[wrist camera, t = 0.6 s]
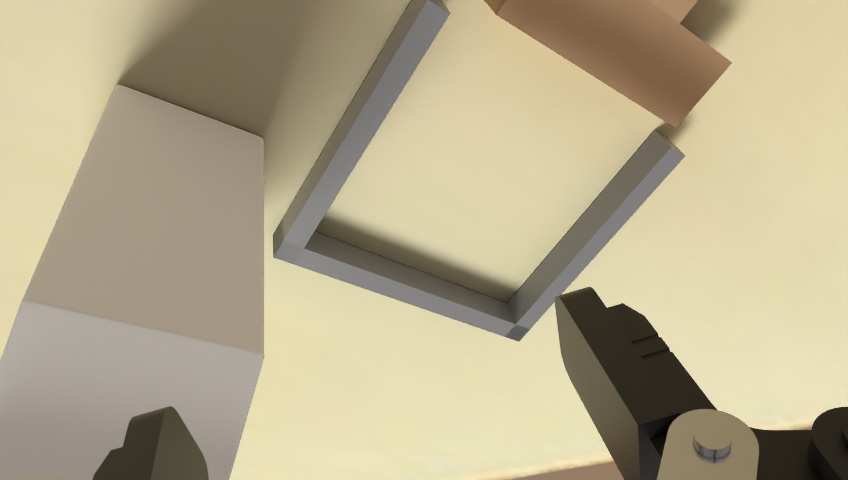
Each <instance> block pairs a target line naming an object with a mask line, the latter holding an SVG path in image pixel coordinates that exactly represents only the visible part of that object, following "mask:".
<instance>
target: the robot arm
mask: <svg viewBox="0 0 848 480" xmlns="http://www.w3.org/2000/svg"><path fill="white" fill-rule="evenodd" d="M555 308H556V316H557V324H558V332H559V340H560V348H561V354H562V358H563V362H564V365H565V368H566V371H567V373H568V375H569V378H570V380H571V382H572V383H573V385H574V387H575V389H576V391H577V393H578V395H579V396H580V398H581V400H582V402H583V404H584V406H585V408H586V409H587V411H588V413H589V415H590V417H591V419H592V421H593V422H594V424H595V426H596V428H597V430H598V432H599V434H600V435H601V437H602V439H603V441H604V443H605V445H606V447H607V448H608V450H609V452H610V454H611V456H612V458H613V459H614V461H615V463H616V465H617V467H618V469H619V471H620V472H621V474H622V476H623V478H624V480H848V407H839V408H834V409H831V410H828V411H826V412H824V413H822V414H821V415H820V416H818V417H817V418H816V420H815V421H814V423H813V426H812V430H761V429H754V428H751V427H748V426H747V425H746V424H745V423H744V422H743V421H741V420H740V419H738V418H736V417H735V416H733V415H731V414H728V413H725V412H722V411H718V410H717V409H716V408H715V407H714V406H713V405H712V403H711V402H710V401H709V399H708V398H707V397H706V396H705V394H704V393H703V392H702V390H701V389H700V388H699V386H698V385H697V384H696V383H695V381H694V380H693V379H692V377H691V376H690V375H689V373H688V372H687V371H686V370H685V368H684V367H683V366H682V364H681V363H680V362H679V360H678V359H677V358H676V356H675V355H674V354H673V353H672V352H670V350H669V347H668V346H667V345H666V343H665V342H664V341H663V340H662V338H661V337H660V338H659V336H658V333H657V332H656V330H655V329H654V328H653V327H652V325H651V324H650V323H649V321H648V320H647V319H646V317H645V316H643V315H642V314H640V313H638V312H637V311H635V310H633V309H632V308H630V307H628V306H626V305H625V304H623V303H622V304H619V305H616V306H612V307H609V308H606V306H605V305H604V303H603V302H602V300H601V299H600V298H599V296H598V295H597V293H596V292H595V291H594V289H593V288H591V287H587V288H583V289H580V290H576V291H573V292H569V293H566V294H563V295H559V296H556V297H555ZM93 480H209V476H208V469H207V464H206V461H205V458H204V456H203V454H202V452H201V450H200V448H199V447H198V445H197V443H196V442H195V440H194V438H193V437H192V435H191V433H190V432H189V430H188V428H187V427H186V425H185V423H184V422H183V420H182V418H181V417H180V415H179V414H178V412H177V411H176V409H175V408H173V407H171V406H169V407H165V408H162V409H158V410H155V411H151V412H148V413H144V414H141V415H137V416H134V417H132V418H131V420H130V421H129V424H128V428H127V432H126V435H125V439H124V443H123V447H120V448H117V449H113V450H111V451H110V452H109V454H108V455H107V456H106V458H105V459H104V461H103V462H102V464H101V465H100V467H99V468H98V470H97V471H96V472H95V474H94V476H93Z"/></svg>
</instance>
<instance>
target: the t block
mask: <svg viewBox="0 0 848 480" xmlns="http://www.w3.org/2000/svg"><path fill="white" fill-rule="evenodd" d="M484 1H485V2H486V3H487V4H488V5H489V7H490V8H491V9H492V10H493V11H494V13H495V14H496V15H497V16H499V17H500V18H502V19H504V20H505V21H507V22H508V23H510V24H512V25H513V26H515V27H516V28H518V29H520V30H521V31H523V32H524V33H526V34H527V35H529V36H531V37H532V38H534V39H535V40H537V41H539V42H540V43H542V44H543V45H545V46H547V47H548V48H550V49H551V50H553V51H554V52H556V53H558V54H559V55H561V56H562V57H564V58H566V59H567V60H569V61H570V62H572V63H573V64H575V65H577V66H578V67H580V68H581V69H583V70H585V71H586V72H588V73H589V74H591V75H593V76H594V77H596V78H597V79H599V80H600V81H602V82H604V83H605V84H607V85H608V86H610V87H612V88H613V89H615V90H616V91H618V92H619V93H621V94H623V95H624V96H626V97H627V98H629V99H631V100H632V101H634V102H635V103H637V104H639V105H640V106H642V107H643V108H645V109H646V110H648V111H650V112H651V113H653V114H654V115H656V116H658V117H659V118H661V119H662V120H664V121H665V122H667V123H669V124H670V125H672V126H673V127H675V128H676V127H677V126H678V124H679V123H680V122H681V121H682V120H683V119H684V118H685V116H686V115H687V114H688V113H689V112H690V111H691V110H692V108H693V107H694V106H695V105H696V104H697V103H698V101H699V100H700V99H701V98H702V97H703V96H704V95H705V93H706V92H707V91H708V90H709V89H710V88H711V87H712V85H713V84H714V83H715V82H716V81H717V80H718V78H719V77H720V76H721V75H722V74H723V73H724V72H725V70H726V69H727V68H728V67H729V66H730V65H731V64H732V62H731V61H729V60H728V59H727V58H725V57H724V56H722V55H721V54H720V53H718V52H717V51H716V50H714V49H713V48H712V47H710V46H709V45H708V44H706V43H705V42H704V41H702V40H701V39H700V38H698V37H697V36H696V35H694V34H693V33H692V32H690V31H689V30H688V29H686V28H685V27H684V26H682V25H681V24H680V22H681V21H682V20H683V19H684V17H685V16H686V15H687V14H688V12H689V11H690V10H691V9H692V8H693V6H694V5H695V4H696V3H697V1H698V0H484Z"/></svg>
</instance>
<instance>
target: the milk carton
mask: <svg viewBox="0 0 848 480" xmlns="http://www.w3.org/2000/svg"><path fill="white" fill-rule="evenodd" d="M263 359H264V140H263V139H262V138H261V137H259V136H257V135H254V134H252V133H249V132H246V131H244V130H241V129H238V128H236V127H233V126H230V125H228V124H225V123H222V122H220V121H217V120H214V119H211V118H209V117H206V116H203V115H201V114H198V113H195V112H193V111H190V110H187V109H185V108H182V107H179V106H176V105H174V104H171V103H168V102H166V101H163V100H160V99H158V98H155V97H152V96H150V95H147V94H144V93H142V92H139V91H136V90H133V89H131V88H128V87H125V86H122V85H116V86H115V87H114V89H113V91H112V93H111V96H110V98H109V100H108V103H107V105H106V107H105V110H104V112H103V114H102V117H101V119H100V121H99V124H98V126H97V128H96V130H95V133H94V135H93V137H92V140H91V142H90V144H89V147H88V149H87V151H86V154H85V156H84V158H83V161H82V163H81V165H80V168H79V170H78V172H77V175H76V177H75V179H74V181H73V184H72V186H71V188H70V191H69V193H68V195H67V198H66V200H65V202H64V205H63V207H62V209H61V212H60V214H59V216H58V219H57V221H56V223H55V226H54V228H53V230H52V232H51V235H50V237H49V239H48V242H47V244H46V246H45V249H44V251H43V253H42V256H41V258H40V260H39V263H38V265H37V267H36V270H35V272H34V274H33V277H32V279H31V281H30V283H29V286H28V288H27V290H26V293H25V295H24V297H23V300H22V301H21V304H20V307H19V310H18V312H17V315H16V318H15V321H14V324H13V327H12V329H11V332H10V335H9V338H8V341H7V344H6V346H5V349H4V352H3V355H2V358H1V361H0V480H93V476H94V474H95V472H96V471H97V470H98V468H99V467H100V465H101V464H102V462H103V461H104V459H105V458H106V456H107V455H108V454H109V452H110V451H111V450H113V449H117V448H120V447H123V443H124V439H125V435H126V432H127V428H128V424H129V421H130V420H131V418H132V417H134V416H137V415H141V414H144V413H148V412H151V411H155V410H158V409H162V408H165V407H169V406H171V407H173V408H175V409H176V411H177V412H178V414H179V415H180V417H181V418H182V420H183V422H184V423H185V425H186V427H187V428H188V430H189V432H190V433H191V435H192V437H193V438H194V440H195V442H196V443H197V445H198V447H199V448H200V450H201V452H202V454H203V456H204V458H205V461H206V464H207V469H208V476H209V480H229V478H230V474H231V471H232V468H233V464H234V461H235V457H236V454H237V450H238V447H239V443H240V440H241V436H242V433H243V429H244V426H245V422H246V419H247V415H248V412H249V408H250V405H251V401H252V398H253V394H254V391H255V387H256V384H257V380H258V377H259V373H260V370H261V366H262V363H263Z"/></svg>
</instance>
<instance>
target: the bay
mask: <svg viewBox="0 0 848 480" xmlns="http://www.w3.org/2000/svg"><path fill="white" fill-rule="evenodd" d="M449 15H450V12H449V11H448V9H447V8H446V6H445V5H444V3H443V2H442V0H411V2H410V3H409V5H408V7H407V8H406V10H405V12H404V13H403V15H402V17H401V19H400V20H399V22H398V24H397V25H396V27H395V29H394V30H393V32H392V34H391V36H390V37H389V39H388V41H387V42H386V44H385V46H384V47H383V49H382V51H381V53H380V54H379V56H378V58H377V59H376V61H375V63H374V64H373V66H372V68H371V70H370V71H369V73H368V75H367V76H366V78H365V80H364V81H363V83H362V85H361V87H360V88H359V90H358V92H357V93H356V95H355V97H354V98H353V100H352V102H351V104H350V105H349V107H348V109H347V110H346V112H345V114H344V115H343V117H342V119H341V121H340V122H339V124H338V126H337V127H336V129H335V131H334V132H333V134H332V136H331V138H330V139H329V141H328V143H327V144H326V146H325V148H324V149H323V151H322V153H321V155H320V156H319V158H318V160H317V161H316V163H315V165H314V166H313V168H312V170H311V172H310V173H309V175H308V177H307V178H306V180H305V182H304V183H303V185H302V187H301V189H300V190H299V192H298V194H297V195H296V197H295V199H294V200H293V202H292V204H291V206H290V207H289V209H288V211H287V212H286V214H285V216H284V217H283V219H282V221H281V223H280V224H279V226H278V228H277V229H276V231H275V233H274V234H273V257H274V258H277V259H280V260H283V261H286V262H289V263H292V264H294V265H297V266H300V267H303V268H306V269H309V270H312V271H315V272H318V273H321V274H324V275H327V276H329V277H332V278H335V279H338V280H341V281H344V282H347V283H350V284H353V285H356V286H359V287H361V288H364V289H367V290H370V291H373V292H376V293H379V294H382V295H385V296H388V297H391V298H394V299H396V300H399V301H402V302H405V303H408V304H411V305H414V306H417V307H420V308H423V309H426V310H428V311H431V312H434V313H437V314H440V315H443V316H446V317H449V318H452V319H455V320H458V321H461V322H463V323H466V324H469V325H472V326H475V327H478V328H481V329H484V330H487V331H490V332H493V333H496V334H498V335H501V336H504V337H507V338H510V339H513V340H516V341H520V340H521V339H522V338H523V337H524V335H525V334H526V333H527V332H528V331H529V330H530V329H531V328H532V326H533V325H534V324H535V323H536V322H537V321H538V320H539V319H540V318H541V316H542V315H543V314H544V313H545V312H546V311H547V310H548V309H549V308H550V306H551V305H552V304H553V303H554V302H555V297H556V296H559V295H561V294H562V293H563V292H564V291H565V290H566V289H567V287H568V286H569V285H570V284H571V283H572V282H573V281H574V280H575V278H576V277H577V276H578V275H579V274H580V273H581V272H582V271H583V270H584V268H585V267H586V266H587V265H588V264H589V263H590V262H591V261H592V260H593V258H594V257H595V256H596V255H597V254H598V253H599V252H600V251H601V249H602V248H603V247H604V246H605V245H606V244H607V243H608V242H609V241H610V239H611V238H612V237H613V236H614V235H615V234H616V233H617V232H618V230H619V229H620V228H621V227H622V226H623V225H624V224H625V223H626V222H627V220H628V219H629V218H630V217H631V216H632V215H633V214H634V213H635V212H636V210H637V209H638V208H639V207H640V206H641V205H642V204H643V203H644V201H645V200H646V199H647V198H648V197H649V196H650V195H651V194H652V193H653V191H654V190H655V189H656V188H657V187H658V186H659V185H660V184H661V182H662V181H663V180H664V179H665V178H666V177H667V176H668V175H669V174H670V172H671V171H672V170H673V169H674V168H675V167H676V166H677V165H678V164H679V162H680V161H681V160H682V159H683V158H684V157H685V155H684V154H683V153H682V152H681V151H680V150H679V149H678V148H677V147H676V146H675V145H674V144H673V143H672V142H671V141H670V140H669V139H668V138H666V137H664V136H663V135H661V134H660V133H658V132H656V131H655V130H654V131H653V132H652V134H651V135H650V136H649V137H648V138H647V139H646V141H645V142H644V143H643V144H642V145H641V147H640V148H639V149H638V150H637V151H636V152H635V154H634V155H633V156H632V157H631V158H630V159H629V161H628V162H627V163H626V164H625V165H624V166H623V168H622V169H621V170H620V171H619V172H618V174H617V175H616V176H615V177H614V178H613V179H612V181H611V182H610V183H609V184H608V185H607V186H606V188H605V189H604V190H603V191H602V192H601V193H600V195H599V196H598V197H597V198H596V199H595V201H594V202H593V203H592V204H591V205H590V206H589V208H588V209H587V210H586V211H585V212H584V213H583V215H582V216H581V217H580V218H579V219H578V221H577V222H576V223H575V224H574V225H573V226H572V228H571V229H570V230H569V231H568V232H567V233H566V235H565V236H564V237H563V238H562V239H561V240H560V242H559V243H558V244H557V245H556V246H555V248H554V249H553V250H552V251H551V252H550V253H549V255H548V256H547V257H546V258H545V259H544V260H543V262H542V263H541V264H540V265H539V266H538V267H537V269H536V270H535V271H534V272H533V273H532V275H531V276H530V277H529V278H528V279H527V280H526V282H525V283H524V284H523V285H522V286H521V287H520V289H519V290H518V291H517V292H516V293H515V295H514V296H513V297H512V298H511V299H510V300H509V302H508V303H505V302H502V301H499V300H497V299H494V298H491V297H489V296H486V295H483V294H480V293H478V292H475V291H472V290H470V289H467V288H464V287H462V286H459V285H456V284H454V283H451V282H448V281H446V280H443V279H440V278H438V277H435V276H432V275H430V274H427V273H424V272H422V271H419V270H416V269H414V268H411V267H408V266H406V265H403V264H400V263H398V262H395V261H392V260H390V259H387V258H384V257H382V256H379V255H376V254H374V253H371V252H368V251H366V250H363V249H360V248H358V247H355V246H352V245H350V244H347V243H344V242H341V241H339V240H336V239H333V238H331V237H328V236H325V235H323V234H320V233H317V232H315V230H316V228H317V226H318V225H319V223H320V221H321V220H322V218H323V217H324V215H325V213H326V212H327V210H328V209H329V207H330V205H331V204H332V202H333V201H334V199H335V197H336V196H337V194H338V193H339V191H340V189H341V188H342V186H343V185H344V183H345V181H346V180H347V178H348V177H349V175H350V173H351V172H352V170H353V169H354V167H355V165H356V164H357V162H358V161H359V159H360V157H361V156H362V154H363V153H364V151H365V149H366V148H367V146H368V144H369V143H370V141H371V140H372V138H373V136H374V135H375V133H376V132H377V130H378V128H379V127H380V125H381V124H382V122H383V120H384V119H385V117H386V116H387V114H388V112H389V111H390V109H391V108H392V106H393V104H394V103H395V101H396V100H397V98H398V96H399V95H400V93H401V92H402V90H403V88H404V87H405V85H406V84H407V82H408V80H409V79H410V77H411V76H412V74H413V72H414V71H415V69H416V67H417V66H418V64H419V63H420V61H421V59H422V58H423V56H424V55H425V53H426V51H427V50H428V48H429V47H430V45H431V43H432V42H433V40H434V39H435V37H436V35H437V34H438V32H439V31H440V29H441V27H442V26H443V24H444V23H445V21H446V19H447V18H448V16H449Z"/></svg>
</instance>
